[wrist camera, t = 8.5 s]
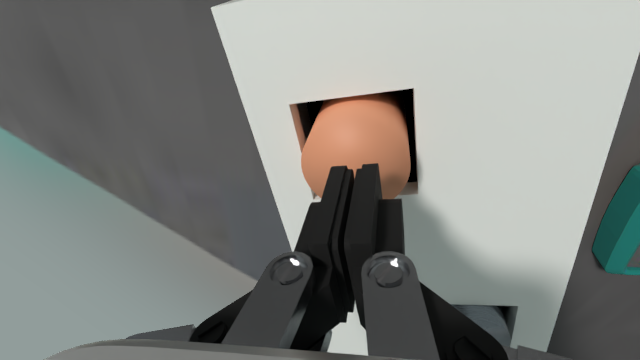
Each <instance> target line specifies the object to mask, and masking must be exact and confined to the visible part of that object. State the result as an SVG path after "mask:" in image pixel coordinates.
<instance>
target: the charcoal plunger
mask: <svg viewBox="0 0 640 360" xmlns="http://www.w3.org/2000/svg"><path fill="white" fill-rule="evenodd" d="M451 305H452V306H453V307H455V308H456V309H457V310H459V311H460V312H461V313H463V314H464V315H465V316H467V317H468V318H469V319H471V320H472V321H473V322H475V323H476V324H477V325H479V326H480V327H481V328H483V329H484V330H485V331H487V332H488V333H489V334H491V335H492V336H493V337H494V338H495V339H496V340H497V341H498V342H499V343H500V344H501V345H503V346H507V347H509V345H510V343H511V338H510V334H509V331H508V328H507V325H506V321H505V318H504V315H503V312H502V308H501V306H498V305H459V304H451Z"/></svg>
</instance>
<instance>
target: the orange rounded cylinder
mask: <svg viewBox="0 0 640 360" xmlns="http://www.w3.org/2000/svg"><path fill="white" fill-rule="evenodd" d="M373 163H378V165H379V172H380V181H381V190H382V198H383V199H394V198H395V197H396V196H397V195H398V194H399V193H400V192H401V191H402V190H403V188H404V187H405V185H406V183H407V181H408V178H409V175H410V169H411V162H410V152H409V142H408V131H407V121H406V111H405V103H404V99H403V97H402V94H401V93H400V91H399V90H396V91H388V92H381V93H373V94H365V95H358V96H350V97H342V98H334V99H327V100H324V102H323V104H322V106H321V108H320V111H319V113H318V115H317V118H316V120H315V122H314V125H313V127H312V129H311V132H310V134H309V136H308V138H307V141H306V143H305V145H304V148H303V151H302V155H301V168H302V172H303V175H304V178H305V180H306V182H307V184H308V185H309V187H310V188H311V189H312V190H313V191H314V193H316V194H317V195H318V196H319V197H320V198H322V195H323V191H324V188H325V185H326V181H327V178H328V175H329V172H330V168H331V167H332V166H345V165H346V166H347V168H348V169H353V172H354V178H355V175H356V170H357V169H359V168H362V164H373Z"/></svg>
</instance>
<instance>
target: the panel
mask: <svg viewBox="0 0 640 360" xmlns="http://www.w3.org/2000/svg"><path fill="white" fill-rule="evenodd" d="M211 10H212V13H213V16H214V19H215V22H216V25H217V28H218V31H219V34H220V37H221V40H222V43H223V46H224V49H225V52H226V55H227V58H228V61H229V64H230V67H231V70H232V73H233V76H234V79H235V82H236V85H237V88H238V91H239V94H240V97H241V100H242V103H243V106H244V109H245V112H246V114H247V117H248V120H249V123H250V126H251V129H252V132H253V135H254V138H255V141H256V144H257V147H258V150H259V153H260V156H261V159H262V162H263V165H264V168H265V171H266V174H267V177H268V180H269V183H270V186H271V189H272V192H273V195H274V198H275V201H276V204H277V207H278V210H279V213H280V216H281V219H282V222H283V225H284V228H285V231H286V234H287V237H288V240H289V243H290V246H291V249H292V252H294V249H295V247H296V244H297V241H298V238H299V235H300V232H301V229H302V226H303V223H304V220H305V217H306V214H307V211H308V208H309V206H310V204H311V203H312V202H320V201H321V198H320V197H319V196H318V195H317V194H316V193H314V191H313V190H312V189H311V188H310V187H309V185H308V184H307V182H306V180H305V178H304V175H303V172H302V168H301V155H302V151H303V148H304V145H305V143H306V141H307V138H308V136H309V134H310V132H311V129H312V125H311V121H310V116H309V112H308V107H307V103H306V102H311V101H319V100H327V99H334V98H342V97H350V96H358V95H365V94H373V93H381V92H388V91H396V90H404V89H412V88H413V103H414V125H415V147H416V169H417V182H407V183H406V185H405V187H404V188H403V190H402V191H401V192H400V193H399V194H398V195H397V196H396V197H395V198H394V199H401V198H402V207H403V221H404V241H405V256H407V257H408V258H409V259H410V260H411V261H412V262H413V264H414V266H415V268H416V272H417V275H418V279H419V281H420V282H421V283H422V284H424V285H425V286H426V287H428V288H429V289H430V290H432V291H433V292H434V293H436V294H437V295H438V296H440V297H441V298H442V299H444V300H445V301H447V302H448V303H449V304H459V305H498V306H501V308H502V312H503V315H504V318H505V321H506V325H507V328H508V331H509V334H510V338H511V343H510V345H509V347H511V348H515V349H517V346H518V345H520V346H524V347H528V348H532V349H535V350H539V351H543V352H546V351H547V348H548V345H549V342H550V338H551V335H552V332H553V329H554V325H555V322H556V319H557V316H558V313H559V309H560V306H561V303H562V300H563V297H564V293H565V290H566V287H567V284H568V280H569V277H570V274H571V271H572V268H573V264H574V261H575V258H576V255H577V251H578V248H579V245H580V242H581V239H582V235H583V232H584V229H585V226H586V223H587V219H588V216H589V213H590V210H591V206H592V203H593V200H594V197H595V194H596V190H597V187H598V184H599V181H600V177H601V174H602V171H603V168H604V165H605V161H606V158H607V155H608V152H609V149H610V145H611V142H612V139H613V136H614V132H615V129H616V126H617V123H618V120H619V116H620V113H621V110H622V107H623V103H624V100H625V97H626V94H627V91H628V87H629V84H630V81H631V78H632V75H633V71H634V68H635V65H636V62H637V58H638V55H639V52H640V0H232V1H229V2H226V3H223V4H220V5H217V6H214V7H211ZM327 352H330V353H343V354H355V355H367V356H368V349H367V337H366V330H365V329H364V328H363V327H362V326H361V325H360V320H359V316H358V312H357V308H356V303H355V304H354V311H353V313H351V312H348V315H347V322H346V323H339V324H338V325H337V326H335V327H334V328H333V329H332V337H331V341H330V345H329V348H328V351H327Z"/></svg>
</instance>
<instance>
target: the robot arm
mask: <svg viewBox="0 0 640 360" xmlns="http://www.w3.org/2000/svg"><path fill="white" fill-rule="evenodd" d="M355 303H356V308H357V312H358V316H359V320H360V325H361V326H362V327H363V328H364V329H365V330H366V337H367V349H368V356H367V355H355V354H343V353H330V352H327V351H328V348H329V345H330V341H331V337H332V329H333V328H334V327H335V326H337V325H338V324H339V323H346V322H347V315H348V312H351V313H353V311H354V304H355ZM44 360H574V359H570V358H566V357H562V356H559V355H555V354H551V353H547V352H543V351H539V350H535V349H532V348H528V347H524V346H520V345H518V346H517V349H515V348H511V347H507V346H503V345H501V344H500V343H499V342H498V341H497V340H496V339H495V338H494V337H493V336H492V335H491V334H489V333H488V332H487V331H485V330H484V329H483V328H481V327H480V326H479V325H477V324H476V323H475V322H473V321H472V320H471V319H469V318H468V317H467V316H465V315H464V314H463V313H461V312H460V311H459V310H457V309H456V308H455V307H453V306H452V305H451V304H449V303H448V302H447V301H445V300H444V299H442V298H441V297H440V296H438V295H437V294H436V293H434V292H433V291H432V290H430V289H429V288H428V287H426V286H425V285H424V284H422V283H421V282H420V281H419V279H418V275H417V272H416V268H415V266H414V264H413V262H412V261H411V260H410V259H409V258H408V257H407V256H405V241H404V221H403V207H402V198H401V199H383V198H382V190H381V181H380V172H379V165H378V163H373V164H362V168H359V169H357V170H356V175H355V178H354V172H353V169H348V168H347V166H346V165H345V166H332V167H331V168H330V172H329V175H328V178H327V181H326V185H325V188H324V191H323V195H322V198H321V201H320V202H312V203H311V204H310V206H309V208H308V211H307V214H306V217H305V220H304V223H303V226H302V229H301V232H300V235H299V238H298V241H297V244H296V247H295V249H294V252H287V253H283V254H281V255H279V256H277V257H276V258H274V259H273V260H272V261H271V262H270V263H269V264H268V266H267V267H266V269H265V271H264V272H263V274H262V276H261V277H260V279H259V281H258V282H257V284H256V286H255V287H254V289H253V290H252V291H251V292H249V293H247V294H246V295H244V296H243V297H241V298H239V299H238V300H236V301H235V302H234V303H231V304H230V305H228V306H227V307H225V308H223V309H222V310H220V311H219V312H217V313H216V314H214V315H212V316H211V317H209V318H208V319H206V320H205V321H204V322H202V323H201V324H200V325H199V326H198V327H197V328H195V326H194V325H186V326H181V327H175V328H169V329H163V330H157V331H152V332H146V333H141V334H136V335H133V336H130V337H128V338H126V339H118V340H107V341H99V342H94V343H90V344H84V345H80V346H77V347H74V348H71V349H68V350H64V351H62V352H59V353H57V354H55V355H52V356H50V357H48V358H46V359H44Z"/></svg>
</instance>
